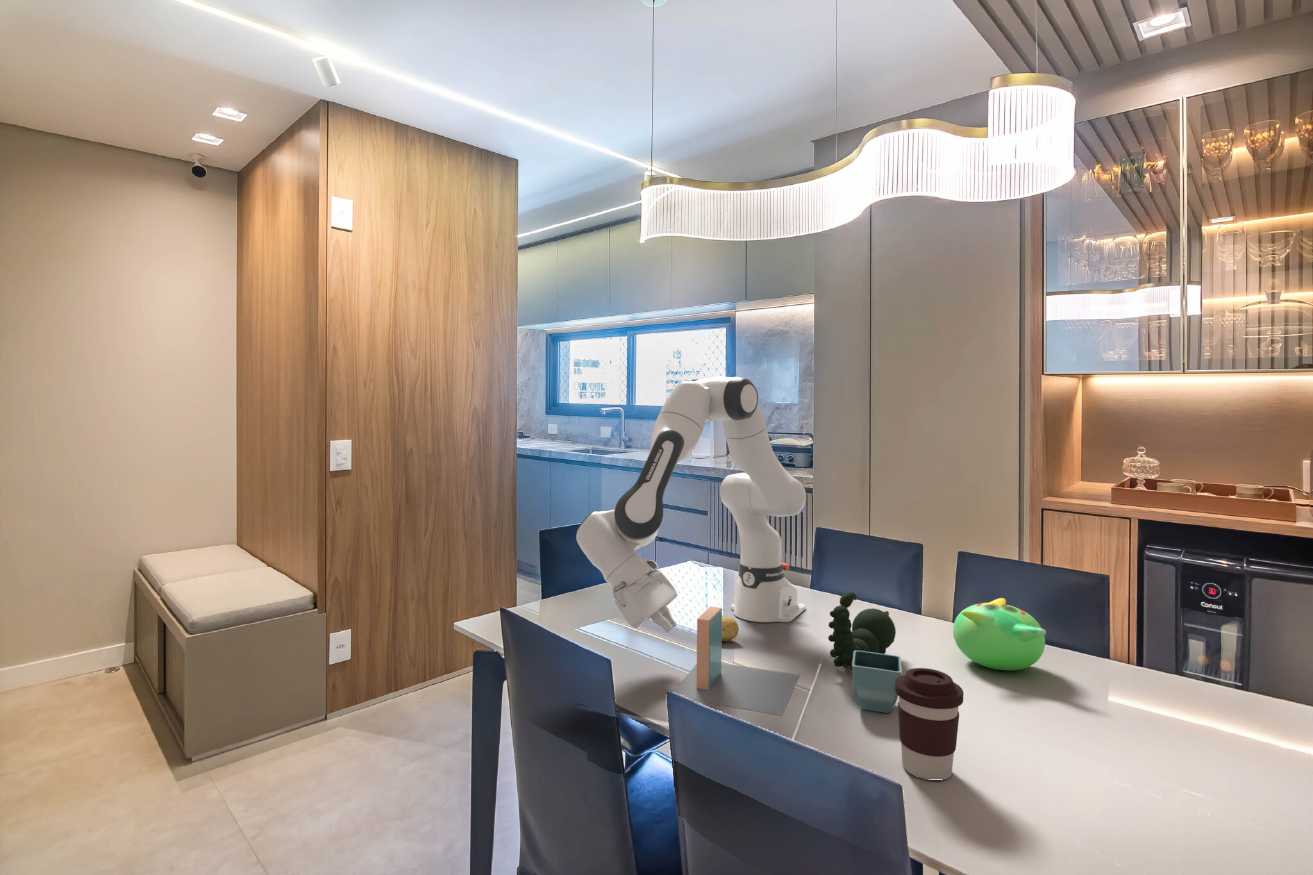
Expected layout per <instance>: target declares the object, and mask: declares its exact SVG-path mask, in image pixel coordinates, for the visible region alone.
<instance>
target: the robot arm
mask: <svg viewBox="0 0 1313 875" xmlns="http://www.w3.org/2000/svg"><path fill="white" fill-rule="evenodd" d="M655 420H656V421H655V423H654V426H653V430H652V434H651V439H650V449H649V450H650V451H649V454H648V456H647V458H646V461H645V463H644V465H643V468H642V469H641V471H640V474H639V476H638V478H637V480H636V482H635V483H634V484H633V486H632V487H630V489H628V490H627V491H625V493H624V494H622V496H620V498H619V499H618V501H617V503H616V504H615V506H614V509H611V510H604V511H593V512H591V513H590V514H588V515H587V516H586V517H585V518H584V519H583V520H582V522H581V523H580V524H579V525H578V526H579V527H578V528H577V529H576V536H575V537H576V542H577V544H578V546H579V547H580V549H581V551H582V552H583V553H584V555H585V556H586V558H587V559H588V560H589V561H590V563H591V564H592V565H593V566H594V567H596V568H597V569H598V570H599V571H600V572H601V574H602V576H603V579H604V580H605V582H606V583H607V584H608V586H610V588H611V590H612V594H613V595H612V596H613V598H614V603H615V606H616V607H617V609H618V610H619V612H620V613H621V615H622V617H623V618H624V619H625V620H626V622H627V624H628V625H630V626H631V627H632V628H634V629H637V628H639V627H640V626H642V625H643V624H644V623H646V622H647V621H648V620H650V619H651V620H652V622H653V623H654V624H656V625H657V626H660V627H661V628H662V629H663V630H664V632H665V633H670V632H671V631H672V630H673V629H674V628H675V627H676V626H677V621H676V620H675V619H674V618H673V616H672V614H671V611H670V609H669V608H668V607H667V606H668V605H670V604H671V603H672V602H673V601H674V600H675V599H676V598H677V597H678V592H677V590H676V589H675V587H674V585H673V584H672V583H671V581H670V580H669V579H668V577H667V576H666V575H665V574H664V573H663V572H662V571H661V570H658V569H659V565H658V563H657V562H656V561H655V560H652V559H645V558H642V557H641V556H640V555H639V554H638V553H637V551H638V550H640V549H641V548H643V547H645V546H647V545H649V544H651V543H652V542H653V541H654V540H655V539H656V537H657V535H658V533H659V529H660V527H661V524H662V522H663V518H664V502H663V501H664V500H663V498H664V495H665V492H666V489H667V487H668V484H669V482H670V480H671V477H672V475H673V472H674V470H675V468H676V466H677V465H678V463H679V462H680V461H683V460H685V459H687V458H689V457H690V455H691V454H692V452H693V450H694V449H695V447H696V446H697V444H698V442H699V440H700V438H701V435H702V433H703V430H704V428H705V425H706V422H722V426H723V432H724V436H725V440H726V444H727V447H728V451H729V456H730V458H731V461H732V463H733V464H734V465H735V466H736V467H737V468H739V469H740V470H741V471H743V472H739V473H733V474H728V475H726V477H724V478H723V480H722V482H721V485H720V488H719V497H720V500H721V503H722V504H723V505H724V506H725V507H726V508H727V509H728V510H729V512H730V513H731V515H732V517H733V519H734V521H735V523H736V527H737V529H738V533H739V539H740V540H739V544H740V562H739V563H738V568H737V569H738V577H739V578H737V580H736V581H735V589H734V600H733V603H732V604H731V605H730V609H731V610H733V615H735V616H736V617H737V618H739V619H742V620H745V621H750V622H755V623H756V622H757V623H774V622H775V623H777V622H779V623H789V622H792V621H793V620H794V619H795V618H796V617H798V616H799V615H801V614H802V612H804V611H805V610H806V609H807V608H806V605H805V604H804V603H802V602H799V601H798V591H797V587H796V586H794V585H793V584H792V583H791V582H790V581H789V580H788V579H787V578H786V577H785V571H786V572H788V571H789V569H790V565H789V563H784V562H782V538H781V535H780V534H779V532H778V531H777V530H776V529H775V528H773V527H772V526H771V524H770V522H769V521H768V518H767V516H772V517H778V518H780V517H782V518H783V517H791V516H793V517H794V516H797V515H799V513H801V512H802V510H803V509H804V507H805V505H806V500H807V494H806V493H807V492H806V489H805V487H804V485H803V483H802V482H801V481H800V480H798V479H796V477H793V476H792V475H791V474H790V473H789V472H788V471H787V469H785V467H784V466H783V465H782V463H781V462H780V460H779V459H778V458H777V456H776V454H775V452H774V450H773V446H772V444H771V441H770V436H769V434H768V428H767V426H766V425H767V424H766V421H765V418H764V414H763V411H762V409H761V406H760V404H759V394H758V390H757V387H756V386H755V385H754V383H753V382H752V381H751V380H750V379H748V378H745V377H741V376H733V377H730V376H713V377H708V378H702V379H691V380H684V381H681V382H679V383H678V384H676V385H675V387H674V388H673V389H672V391H671V392H670V393H669V395H668V396H667V398H666V400H665V402H664V404H663V405H662V408H661V409H660V412H659V413H658V415H657V418H656V419H655Z"/></svg>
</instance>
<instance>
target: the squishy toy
mask: <svg viewBox="0 0 1313 875" xmlns="http://www.w3.org/2000/svg"><path fill="white" fill-rule="evenodd" d="M952 633H953V638H954V642H955V644H956V646H957V647H958V649H959V650H960V652H961V653H962V654H963V655H964V656H966V657H967V658H968V659H970V661H972V662H974V663H976V664H978V665H980V666H983V667H986V668H989V669H993V670H999V671H1018V670H1022V669H1026V668H1029V667H1031V666H1032V665H1035V664H1036V663H1037V662H1038V661H1039V660H1040V658H1041V657H1042V656H1043V653H1044V651H1045V648H1046V638H1045V635H1047V631H1046V630H1045V629H1044V628H1042V627H1041V625H1040V623H1039V622H1038V621H1037V620H1036V619H1035V618H1034V617H1033V616H1032V615H1030V614H1029V613H1028V612H1026V611H1024V610H1022V609H1020V608H1018V607H1015V606H1013V605H1009V604H1007V600H1006V598H1003V597H999V598H996V599H994V600H992V601H990V602H982V603H974V604H973V605H970V606H968V607H966V608H964V609H963V610H962V611H960V613H959V614H958V615H956V618H955V620H954V622H953V629H952Z"/></svg>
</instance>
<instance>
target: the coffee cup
mask: <svg viewBox="0 0 1313 875" xmlns="http://www.w3.org/2000/svg"><path fill="white" fill-rule="evenodd" d="M895 692H896V694H897V695H898V702H897V713H898V714H897V716H898V735H899V740H900V746H901V748H900V749H901V764H902V767H903V768H904V770H905V771H906V772H907V773H909V774H910V773H911V775H912V776H914V775H915V776H914V777H916V776H918V777H920V778H919V779H921V778H924V779H923V780H925V779H945V778H947V779H949V778H950V777H951V776H950V775H952V773H953V767H954V766H953V765H954V764H953V763H954V755H955V752H956V748H957V741H958V740H957V739H958V730H959V721H960V712H959V707H960V706H961V705H963V703H964V695H965V694H964V690H963V688H962V687H961V686H960V685H959V684H957V683H956V682H955V681H954V680H953V678H952V677H951V676H950V675H949V674H947V673H946V672H943V671H940V670H937V669H934V668H933V669H932V668H928V667H927V668H926V667H914V668H910V669H908V670H906V672H905V673H904V674H902V676H899V677H898V678H897V679H896V680H895ZM949 776H950V777H949ZM918 777H917V778H918ZM948 777H949V778H948ZM945 780H946V779H945Z"/></svg>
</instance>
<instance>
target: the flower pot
mask: <svg viewBox="0 0 1313 875" xmlns="http://www.w3.org/2000/svg"><path fill="white" fill-rule="evenodd" d="M851 672H852V686H853V693H854V697H855V699H856V701H857V704H858V705H859V707H860V708H861V710H865V711H873V712H878V713H879V712H880V713H885V714H889V713H891V711H892V710H893V709H894V708H895V705H896V703H897V701H898V699H899V696H898V695H897V694H896V692H895V680H896V679H897V678H898V677H899V676H902V675H903V670H902V657H901V656H900V655H894V654H888V653H887V654H886V653H885V654H880V653H873V652H865V651H857V650H855V651H854V653H853V662H852V671H851Z"/></svg>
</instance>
